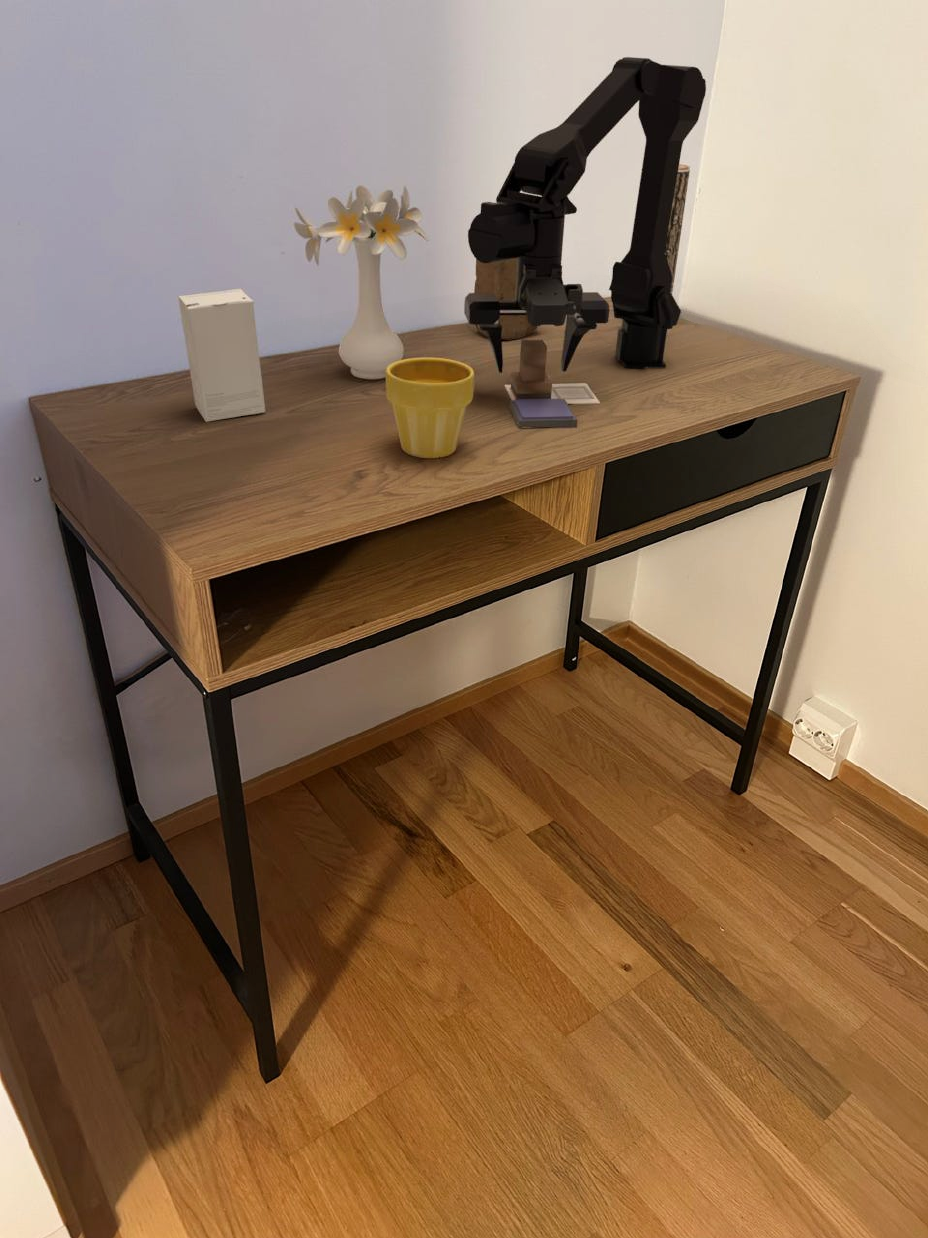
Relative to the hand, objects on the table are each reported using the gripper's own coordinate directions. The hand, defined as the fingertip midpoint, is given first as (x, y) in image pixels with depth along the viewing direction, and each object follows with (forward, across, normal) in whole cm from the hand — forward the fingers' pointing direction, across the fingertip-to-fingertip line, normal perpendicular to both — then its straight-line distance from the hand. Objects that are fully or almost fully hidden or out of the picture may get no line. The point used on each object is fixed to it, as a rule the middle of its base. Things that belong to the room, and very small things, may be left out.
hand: (532, 371), depth 131 cm
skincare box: (+4, -41, -4) cm, 41 cm away
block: (+4, +2, +30) cm, 30 cm away
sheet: (+3, +3, 0) cm, 5 cm away
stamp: (+3, 0, 0) cm, 3 cm away
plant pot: (+4, -16, -18) cm, 24 cm away
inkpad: (+3, 0, -8) cm, 9 cm away
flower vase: (+4, -22, +10) cm, 24 cm away
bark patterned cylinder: (+4, +28, +36) cm, 46 cm away
